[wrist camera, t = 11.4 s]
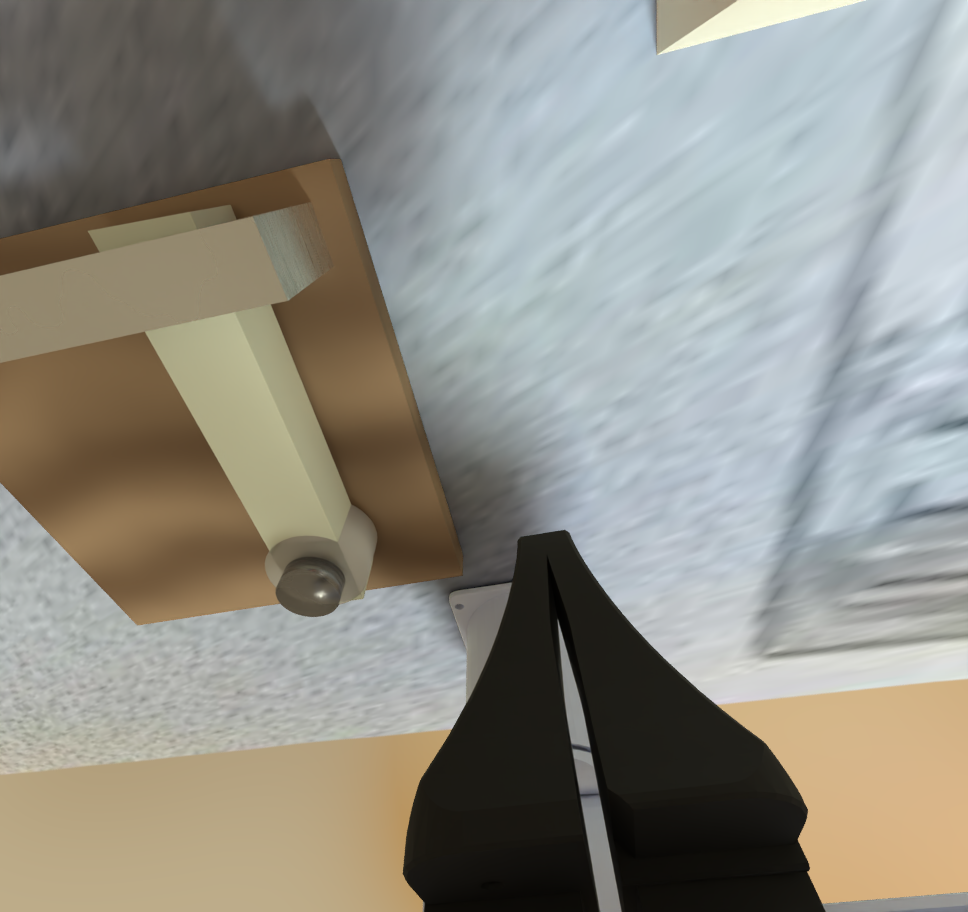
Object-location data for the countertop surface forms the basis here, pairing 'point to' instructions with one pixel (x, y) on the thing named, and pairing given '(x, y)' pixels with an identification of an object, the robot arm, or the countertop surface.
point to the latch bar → (259, 422)
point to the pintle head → (310, 586)
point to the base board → (181, 444)
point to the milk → (727, 18)
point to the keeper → (162, 282)
